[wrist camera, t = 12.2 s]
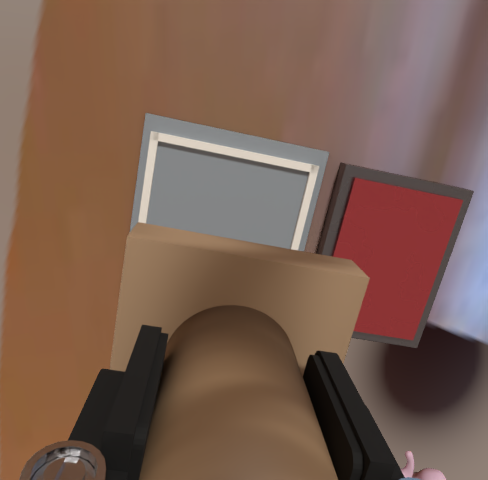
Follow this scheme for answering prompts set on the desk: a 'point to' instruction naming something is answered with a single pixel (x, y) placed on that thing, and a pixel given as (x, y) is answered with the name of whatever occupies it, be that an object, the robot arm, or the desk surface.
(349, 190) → the ink pad
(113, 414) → the robot arm
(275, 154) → the board
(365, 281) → the stamp
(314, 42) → the desk surface
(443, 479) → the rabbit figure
